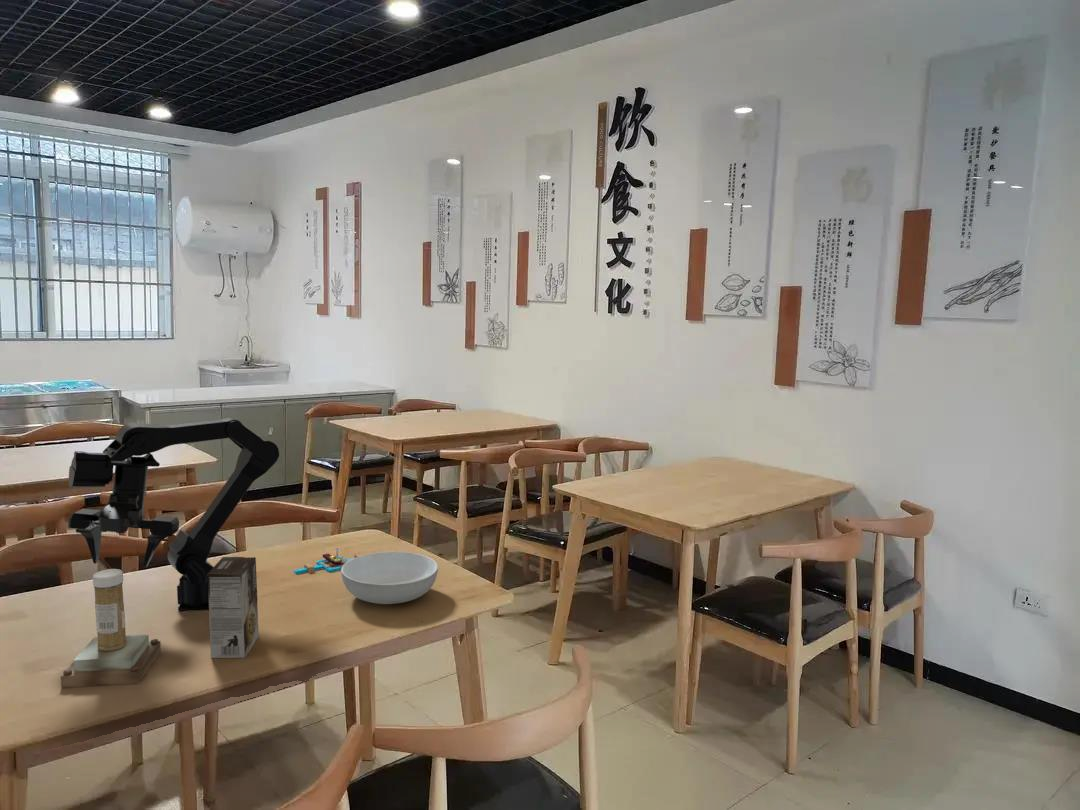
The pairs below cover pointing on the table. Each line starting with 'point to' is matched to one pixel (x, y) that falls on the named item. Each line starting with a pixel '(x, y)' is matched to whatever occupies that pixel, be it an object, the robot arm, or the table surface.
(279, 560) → the table surface
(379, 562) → the serving bowl
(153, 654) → the brick tower base
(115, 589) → the sprinkles bottle
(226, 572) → the coffee box
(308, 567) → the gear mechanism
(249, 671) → the table surface
